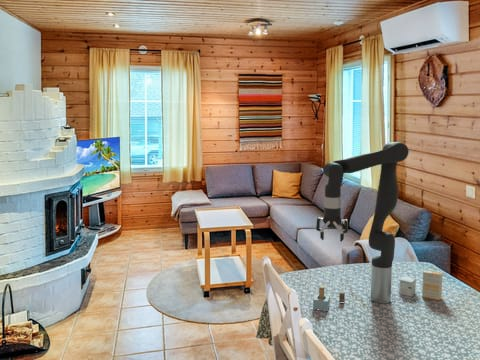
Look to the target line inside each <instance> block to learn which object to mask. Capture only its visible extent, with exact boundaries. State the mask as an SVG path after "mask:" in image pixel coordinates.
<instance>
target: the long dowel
mask: <svg viewBox="0 0 480 360" xmlns="http://www.w3.org/2000/svg"><path fill="white" fill-rule="evenodd" d="M318 294H319V299H323V300H324V295H325V287H324V286H322V285H321V286H319V287H318Z"/></svg>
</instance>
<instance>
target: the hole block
mask: <svg viewBox="0 0 480 360" xmlns="http://www.w3.org/2000/svg"><path fill="white" fill-rule="evenodd" d="M330 298H331V296H330V295H326V294H324V300H323V299H319V293H316V294H314V297H313V299H312V310H313V309H319V310H325V311H329V309H330V307H329V305H331V304H330V303H331V301H330V300H331V299H330ZM328 308H329V309H328Z"/></svg>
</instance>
